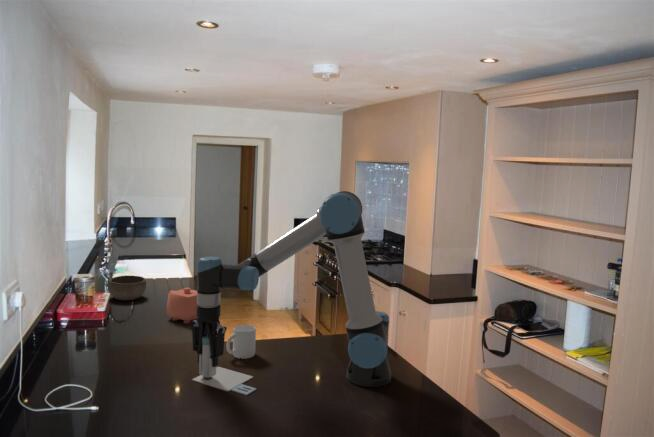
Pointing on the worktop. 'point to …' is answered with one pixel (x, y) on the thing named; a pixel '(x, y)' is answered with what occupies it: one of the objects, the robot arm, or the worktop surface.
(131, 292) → the bowl
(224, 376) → the paper
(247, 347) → the mug
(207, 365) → the marker
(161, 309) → the worktop surface
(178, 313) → the teapot
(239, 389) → the word card
